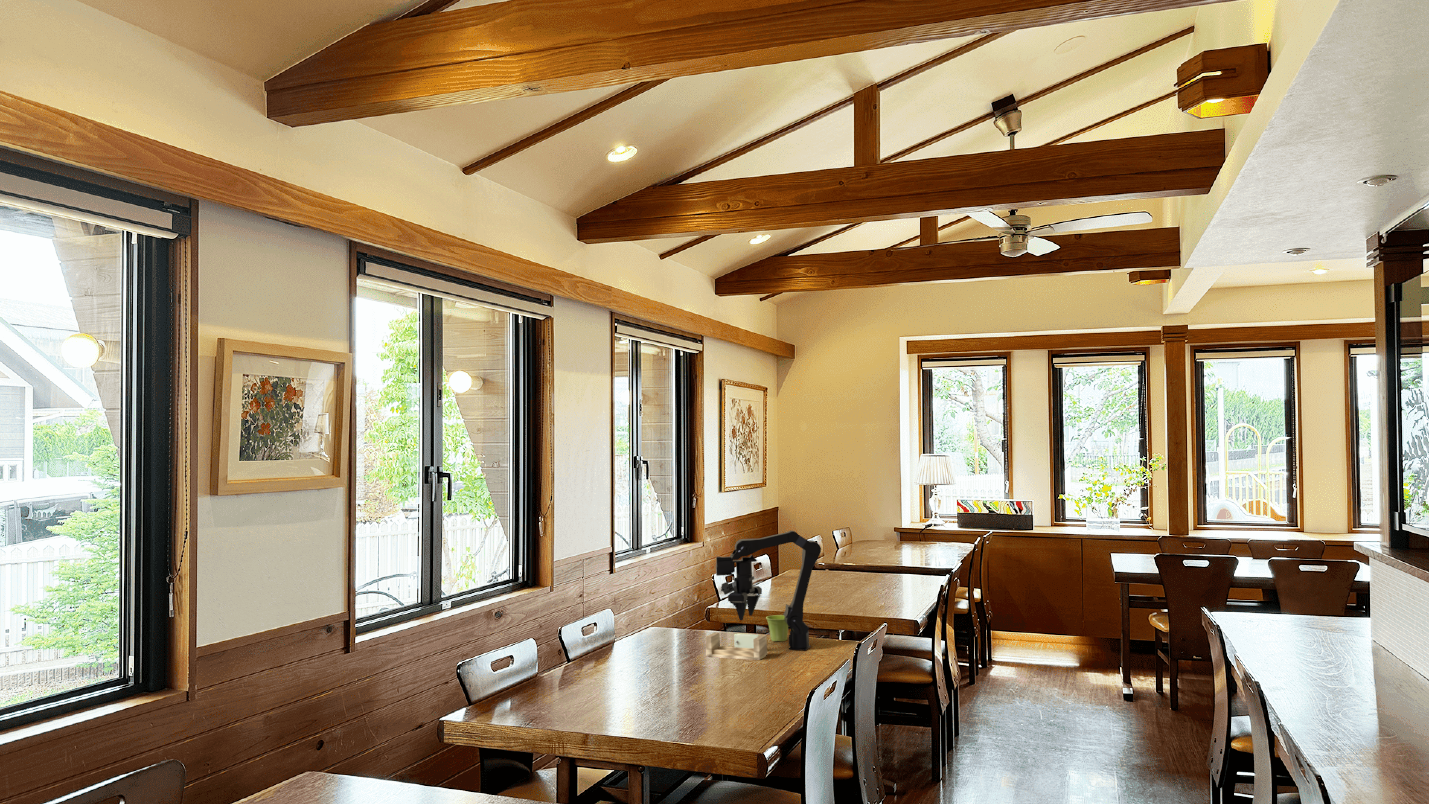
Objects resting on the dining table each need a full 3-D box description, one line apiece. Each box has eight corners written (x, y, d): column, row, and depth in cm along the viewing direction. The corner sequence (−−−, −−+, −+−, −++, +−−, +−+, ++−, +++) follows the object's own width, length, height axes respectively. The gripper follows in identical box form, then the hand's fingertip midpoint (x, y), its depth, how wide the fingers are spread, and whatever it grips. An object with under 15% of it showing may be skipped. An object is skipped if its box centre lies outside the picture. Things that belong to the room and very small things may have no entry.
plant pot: (779, 636, 350) (778, 614, 350) (796, 640, 343) (795, 616, 343) (761, 640, 344) (760, 617, 344) (778, 643, 336) (778, 620, 337)
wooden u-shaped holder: (767, 655, 319) (766, 635, 319) (759, 660, 311) (758, 639, 312) (715, 651, 326) (714, 632, 327) (706, 656, 319) (705, 636, 319)
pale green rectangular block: (760, 651, 325) (759, 634, 325) (757, 653, 322) (756, 636, 322) (737, 650, 329) (736, 633, 329) (733, 652, 326) (733, 635, 326)
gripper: (733, 570, 339) (735, 612, 339) (713, 577, 322) (715, 621, 321) (761, 571, 335) (763, 613, 334) (742, 578, 318) (744, 623, 317)
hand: (746, 617), depth 327 cm, fingers open, 9 cm apart
